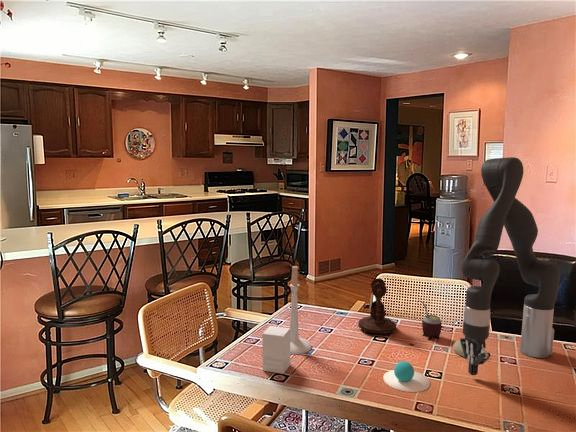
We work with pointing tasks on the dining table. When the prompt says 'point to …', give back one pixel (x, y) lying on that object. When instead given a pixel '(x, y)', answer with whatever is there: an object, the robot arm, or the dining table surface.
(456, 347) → the sea urchin shell
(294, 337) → the candlestick
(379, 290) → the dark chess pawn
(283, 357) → the supplement box
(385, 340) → the dining table surface
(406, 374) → the ball
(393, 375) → the white disc
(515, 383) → the dining table surface
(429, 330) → the mate gourd
